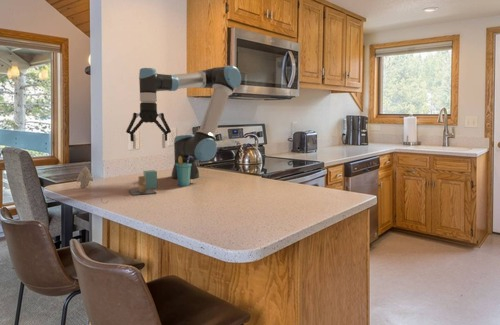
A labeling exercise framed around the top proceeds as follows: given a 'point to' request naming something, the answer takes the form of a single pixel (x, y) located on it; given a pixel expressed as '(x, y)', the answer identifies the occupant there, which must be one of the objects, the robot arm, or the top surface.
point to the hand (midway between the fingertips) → (149, 148)
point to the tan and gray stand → (142, 188)
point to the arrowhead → (84, 177)
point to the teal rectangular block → (151, 178)
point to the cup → (183, 171)
